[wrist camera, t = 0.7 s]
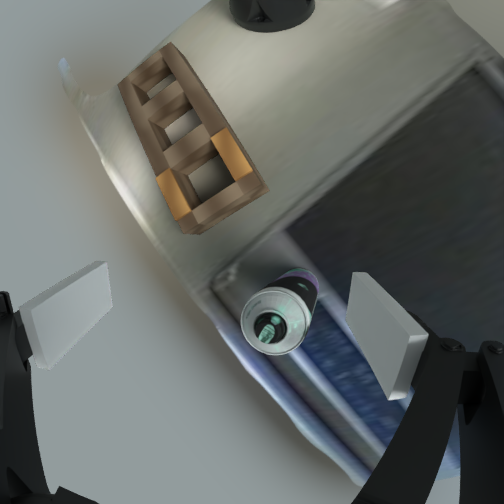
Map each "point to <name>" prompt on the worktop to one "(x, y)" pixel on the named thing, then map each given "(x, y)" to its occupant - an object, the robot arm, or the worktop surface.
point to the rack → (187, 141)
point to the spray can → (281, 313)
